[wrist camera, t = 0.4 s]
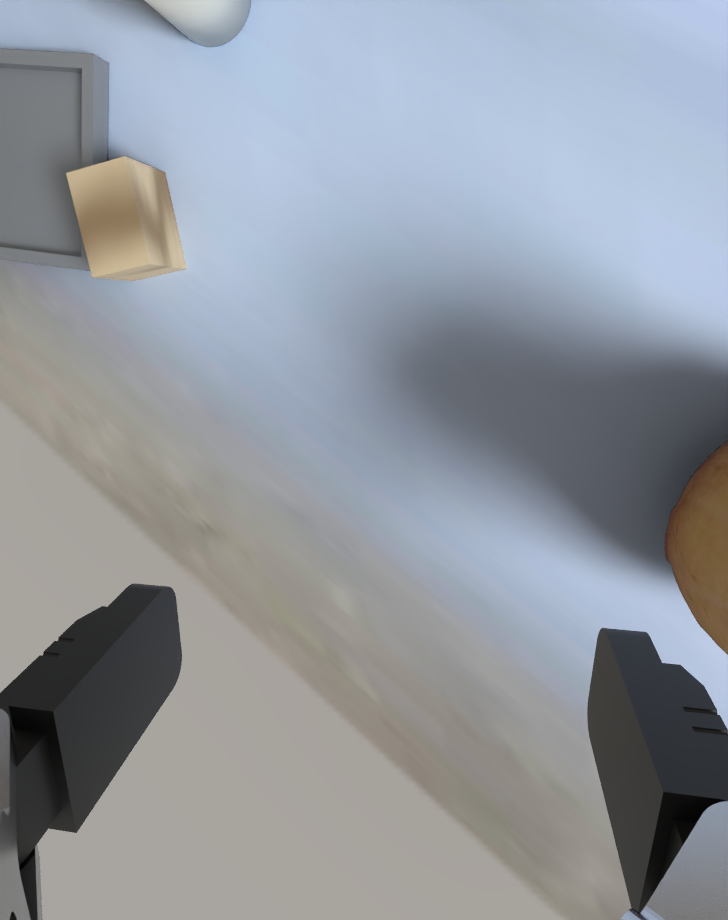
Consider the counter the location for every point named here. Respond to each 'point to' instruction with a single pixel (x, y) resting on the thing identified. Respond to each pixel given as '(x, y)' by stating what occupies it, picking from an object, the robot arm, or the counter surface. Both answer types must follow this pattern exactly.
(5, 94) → the tray
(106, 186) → the oak block
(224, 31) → the white rounded cylinder
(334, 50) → the counter surface
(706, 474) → the butternut squash
